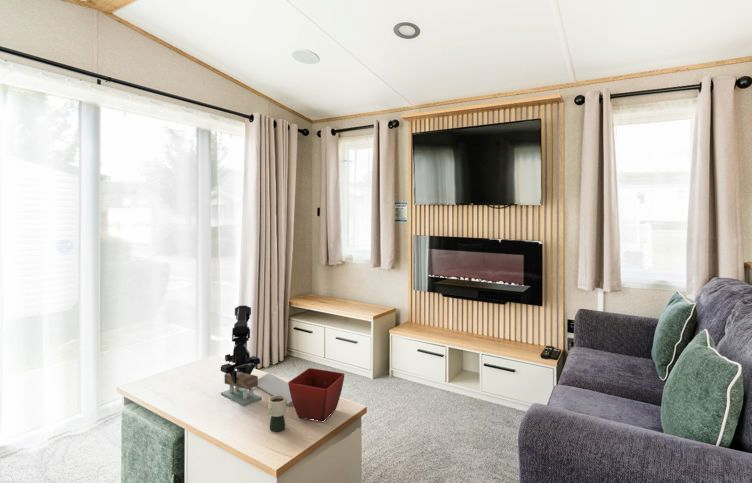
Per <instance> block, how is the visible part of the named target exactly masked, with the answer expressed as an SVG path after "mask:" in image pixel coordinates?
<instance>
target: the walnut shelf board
mask: <svg viewBox="0 0 752 483" xmlns="http://www.w3.org/2000/svg"><path fill="white" fill-rule="evenodd" d="M258 377H259V376H258V375H253V374H251V375H250V374H246V373H242V372H237V378H236V384H234V383H233V380H232V378H231V375H230V374H229V373H228V374H226V373H224V384H225V385H228V386H229V385H232V386H234V387H235V386H236V387H240V388H243V389H246V390H248V391H249V389H251V388H253V389H254V388H255V387H256V386H257V385H258V379H259V378H258Z"/></svg>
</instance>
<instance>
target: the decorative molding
mask: <svg viewBox="0 0 752 483" xmlns="http://www.w3.org/2000/svg"><path fill="white" fill-rule="evenodd" d="M255 387H257V388H258V389H260V390H262V391H263V392H265V393H267V394H268V395H270V397H272V396H276V395H283V396H285V397H286V399H287V405H286V406H288V407H291V406H294V405H293V402H292V398H291V395H290V390H289V384H288V382H287V381H285V380H283V379H281V378H279V377H278V376H276V375H274V374H272V373H270V372H268V373H266V374H265V375H263V376H261V377H260V378H258V385H257V386H255Z"/></svg>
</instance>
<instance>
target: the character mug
mask: <svg viewBox="0 0 752 483" xmlns="http://www.w3.org/2000/svg"><path fill="white" fill-rule="evenodd" d="M287 406H288V405H287V399H286V397H285V396H283V395H276V396H270V397H269V398H268V407H267V415H268V416H271V417H270V422H269V430H270V431H274V432H280V431H283V430H284V429H285V428H286V421H285V415H286V413H287V412H286V411H287Z"/></svg>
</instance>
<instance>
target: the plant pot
mask: <svg viewBox="0 0 752 483" xmlns="http://www.w3.org/2000/svg"><path fill="white" fill-rule="evenodd" d="M344 381H345V373H344V372H339V371H332V370H326V369H324V370H323V369H318V368H312V367H309V368H307V369H305V370H304V371H302V372H301V373H299V374H298V375H297V376H295V377H294V378H292V379H291V380H289V381H288V382H287V383H288V384H289V390H290V395H291V398H292V402H293V405H292V406H293V408H294V410H295V412H296V415H297V418H299V417H300V418H299V419H303V418H307V419H314V420H318V421H324V420H325V419H326V418H327V417H328V416H329V415H330V414H331V413H332V412H333V411H334V410H335V409H336V410H337V408H338V404H339V401H340V397H341V394H342V390H343V386H344V385H343V384H344ZM336 410H335V411H336ZM335 411H334V412H335ZM334 412H333V413H334ZM333 413H332V414H333ZM332 414H331V415H332ZM331 415H330V416H331ZM330 416H329V417H330ZM329 417H328V418H329ZM328 418H327V419H328ZM307 419H306V420H307ZM327 419H326V420H327ZM326 420H325V421H326ZM325 421H324V422H325Z"/></svg>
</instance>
